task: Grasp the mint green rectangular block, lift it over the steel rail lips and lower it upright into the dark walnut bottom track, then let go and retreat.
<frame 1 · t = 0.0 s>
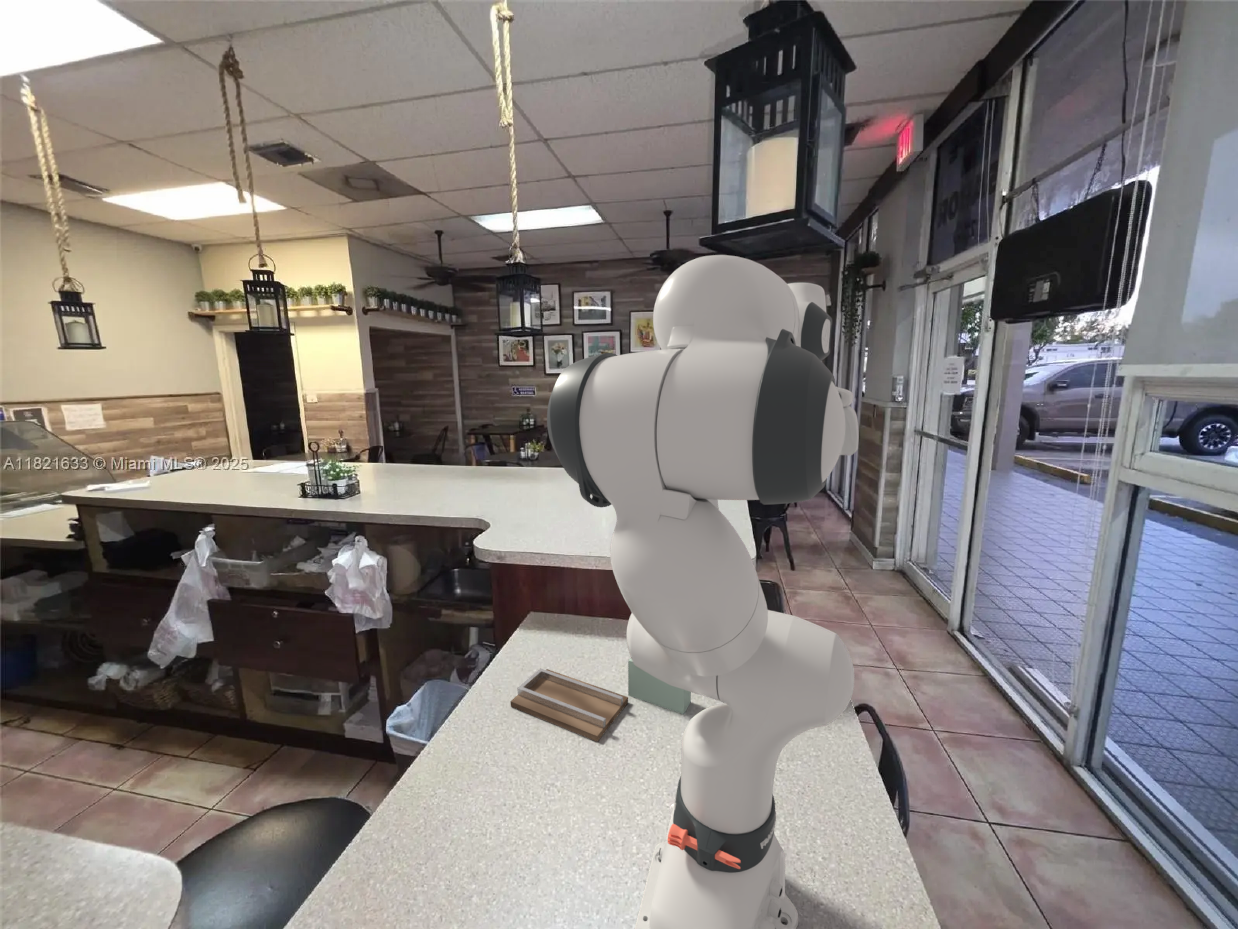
hand: (786, 477, 81), 48 cm above the countertop, fingers open, 8 cm apart
cracker box: (715, 670, 110), on the countertop
track board: (569, 704, 98), on the countertop
track rails: (569, 695, 98), on the track board, point 1 cm above the countertop
mint green rectangular block: (659, 699, 100), on the countertop
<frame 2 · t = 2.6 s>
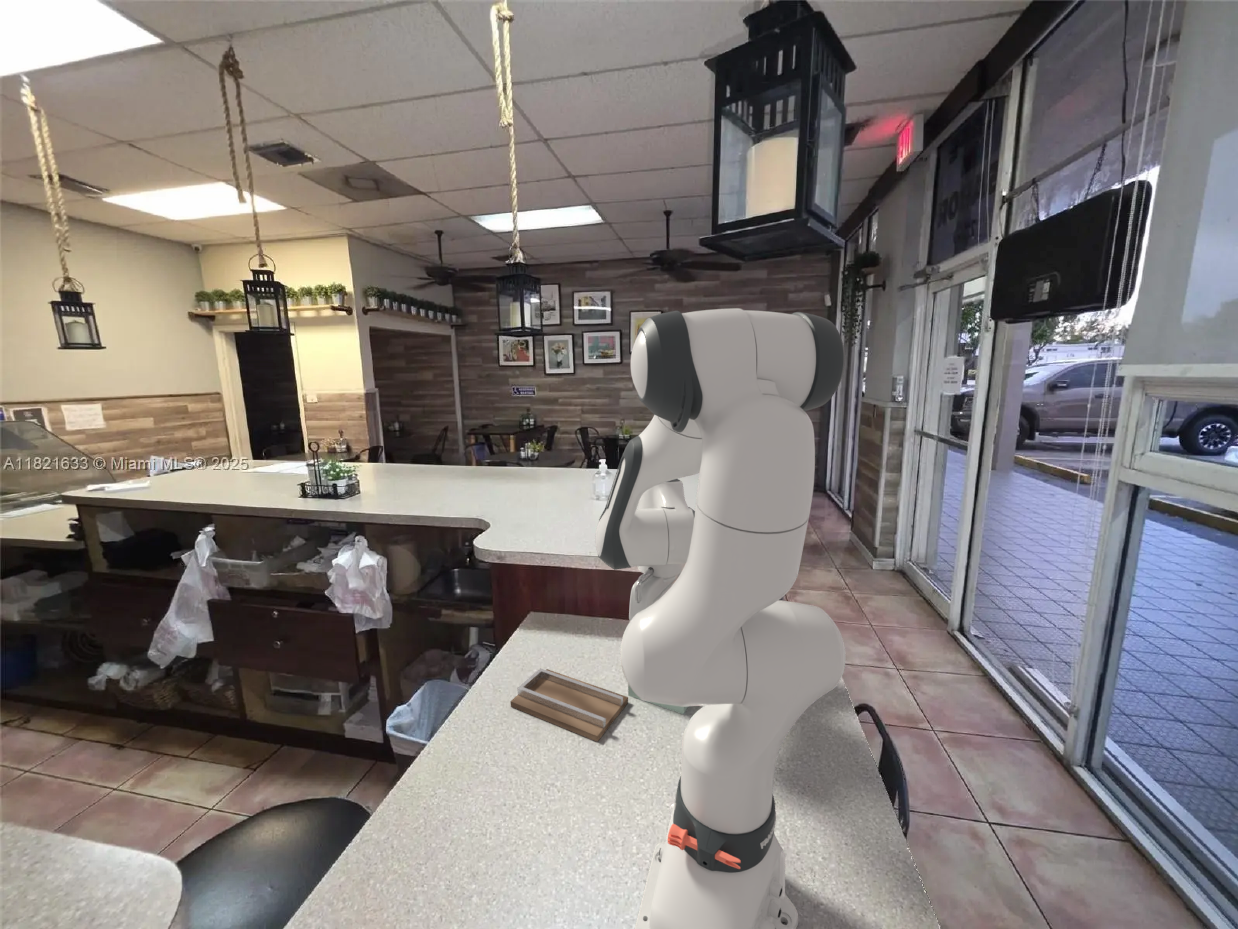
hand: (659, 625, 97), 16 cm above the countertop, fingers open, 8 cm apart
nothing on the countertop moved.
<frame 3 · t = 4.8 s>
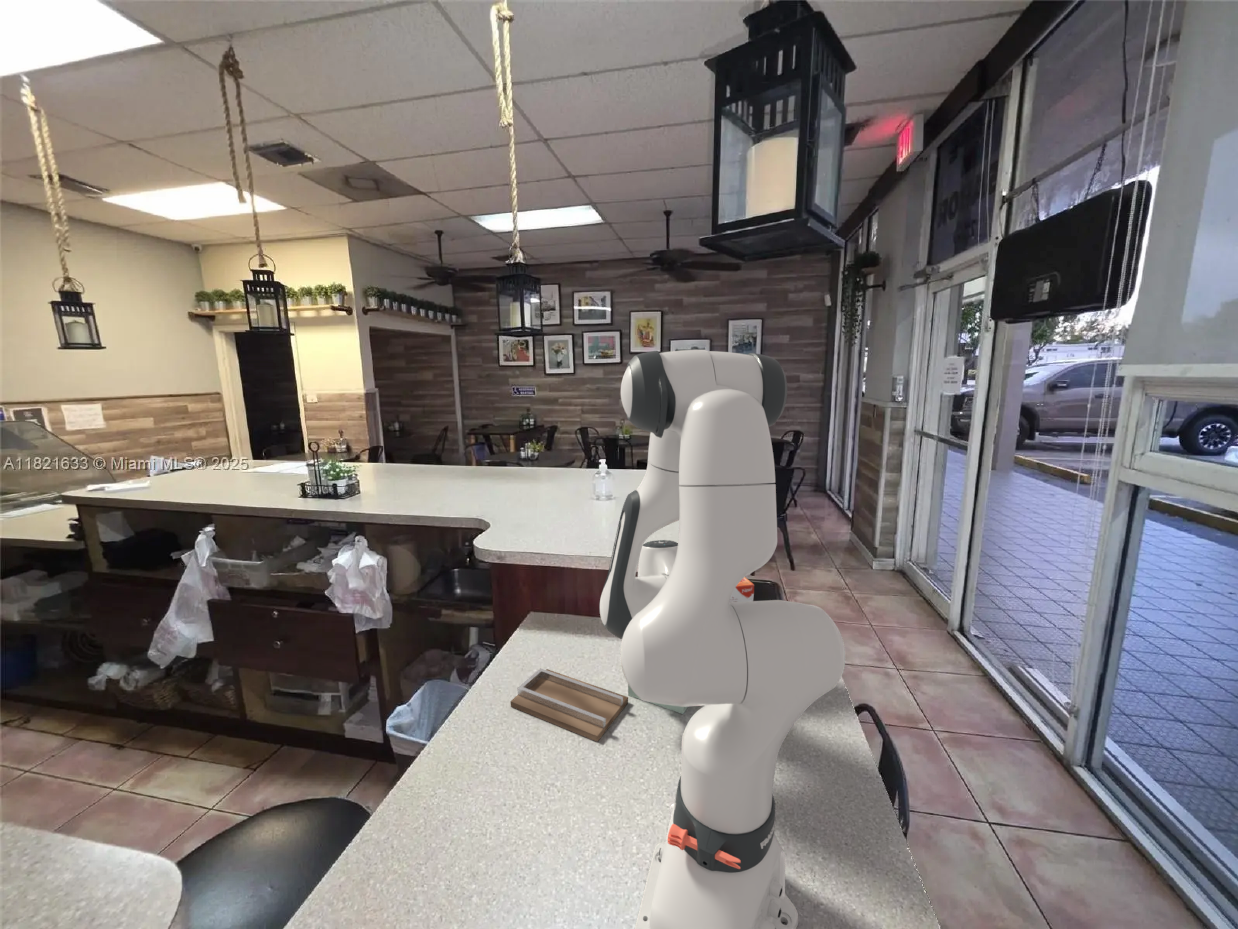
hand: (659, 682, 99), 4 cm above the countertop, fingers closed on mint green rectangular block, 4 cm apart
mint green rectangular block: (659, 698, 100), on the countertop, touching gripper
everything else where it was.
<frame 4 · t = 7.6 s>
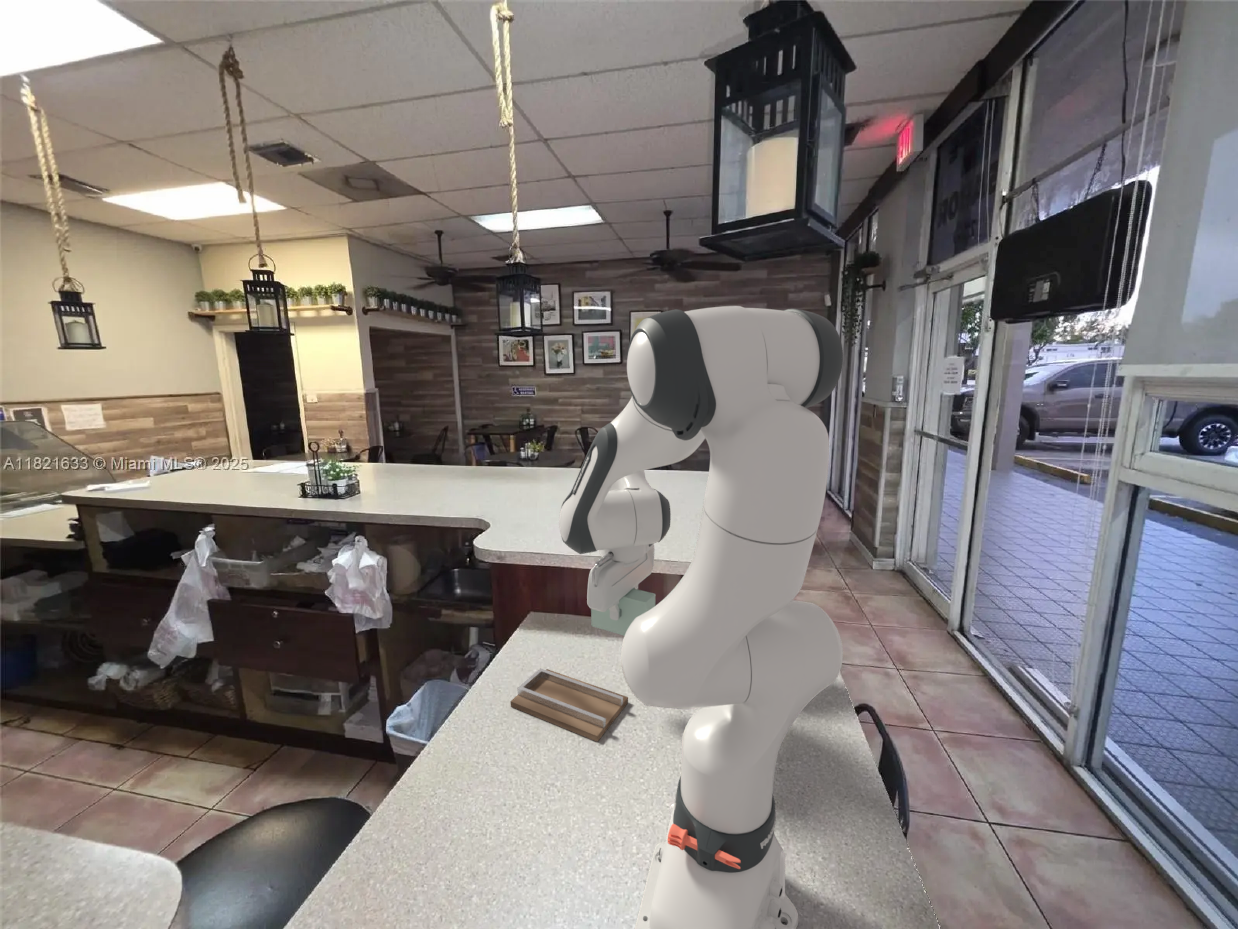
hand: (622, 612, 96), 19 cm above the countertop, fingers closed on mint green rectangular block, 4 cm apart
mint green rectangular block: (622, 629, 97), point 16 cm above the countertop, touching gripper
everything else where it was.
when the fingers open (6 cm above the countertop, at t = 10.6 s): mint green rectangular block stays where it is, resting on track board.
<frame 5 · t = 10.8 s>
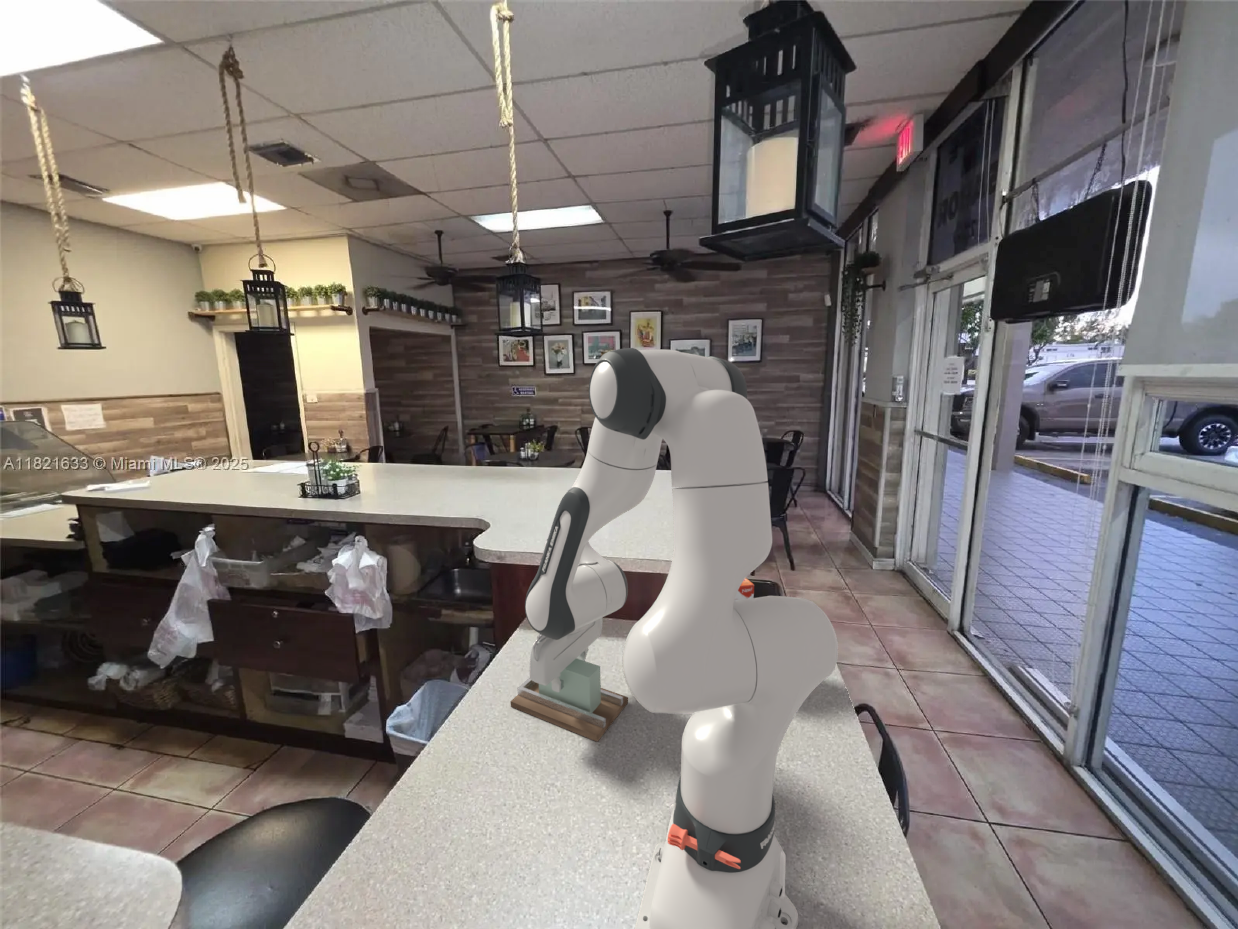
hand: (569, 678, 97), 6 cm above the countertop, fingers open, 6 cm apart
mint green rectangular block: (569, 699, 98), point 1 cm above the countertop, touching track board
everything else where it was.
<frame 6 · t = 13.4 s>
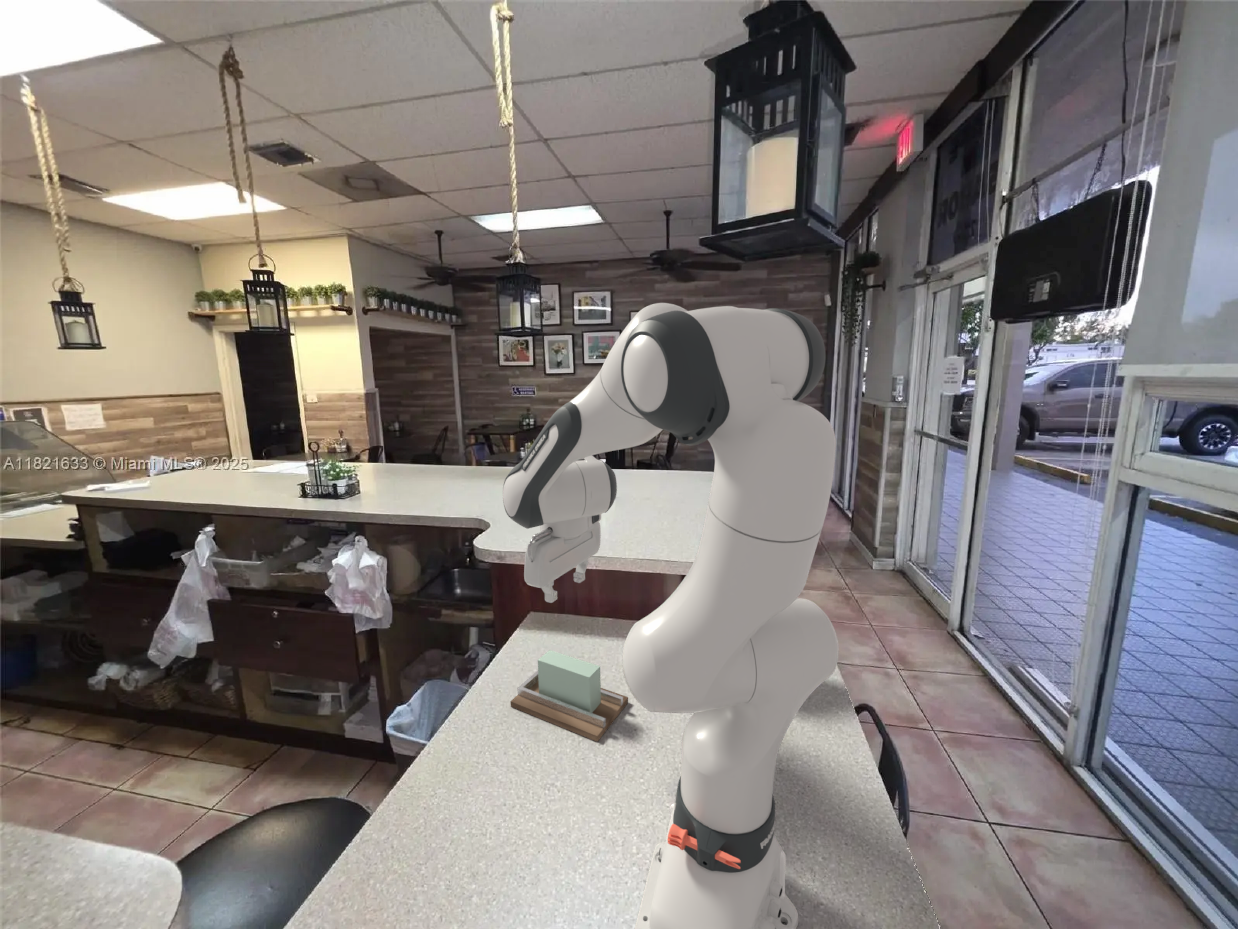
hand: (565, 590, 94), 24 cm above the countertop, fingers open, 8 cm apart
nothing on the countertop moved.
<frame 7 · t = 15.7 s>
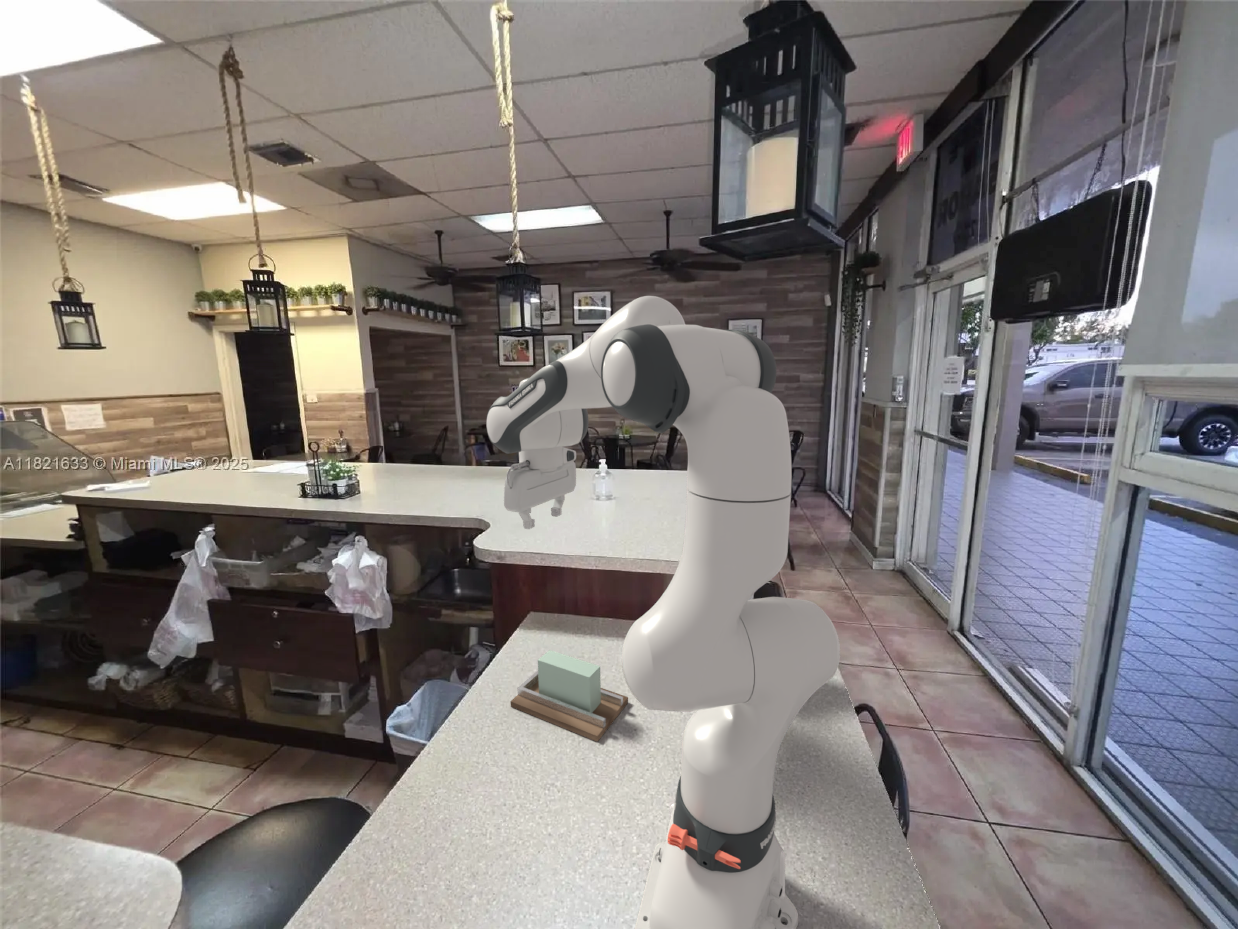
hand: (543, 521, 104), 34 cm above the countertop, fingers open, 8 cm apart
nothing on the countertop moved.
at the end: mint green rectangular block 0.0 cm off-centre on the track board, point 1.2 cm above the track board's base; mint green rectangular block tilted 0°; the gripper is holding nothing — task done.
